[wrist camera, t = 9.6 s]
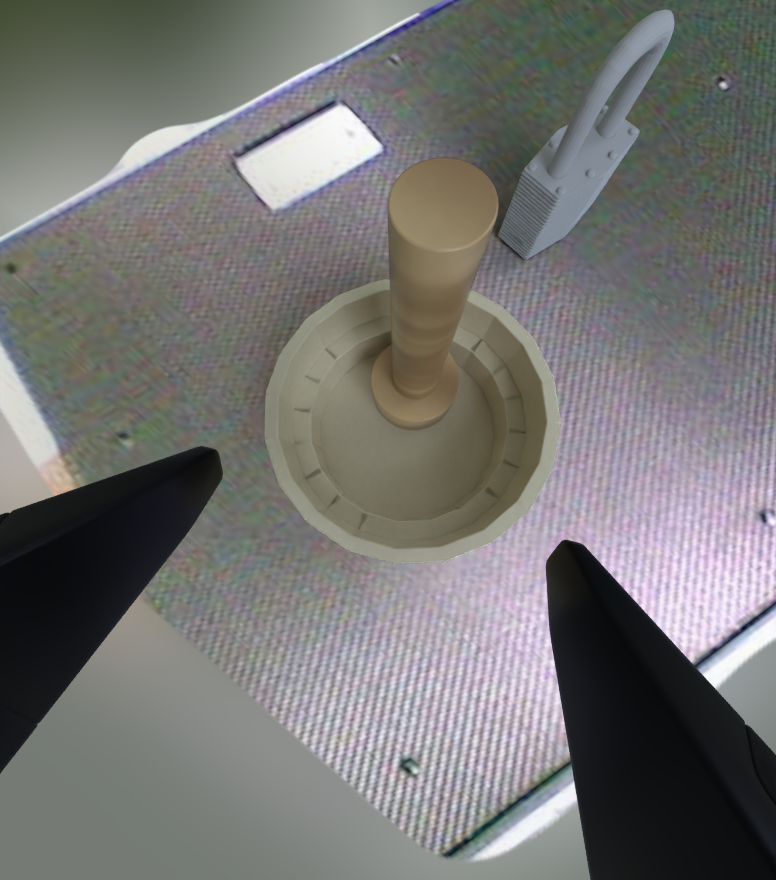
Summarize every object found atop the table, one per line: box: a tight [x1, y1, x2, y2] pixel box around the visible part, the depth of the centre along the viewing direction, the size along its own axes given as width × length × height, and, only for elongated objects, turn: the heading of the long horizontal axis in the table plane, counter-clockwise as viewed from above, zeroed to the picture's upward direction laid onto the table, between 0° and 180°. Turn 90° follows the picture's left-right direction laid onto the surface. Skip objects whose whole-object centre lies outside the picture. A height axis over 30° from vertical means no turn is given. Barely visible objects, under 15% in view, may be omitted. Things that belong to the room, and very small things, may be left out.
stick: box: [371, 158, 498, 430], centre depth 14 cm, size 5×5×13 cm
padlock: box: [498, 10, 674, 260], centre depth 18 cm, size 7×4×10 cm, turn 131°
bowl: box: [264, 279, 561, 564], centre depth 18 cm, size 14×14×6 cm
